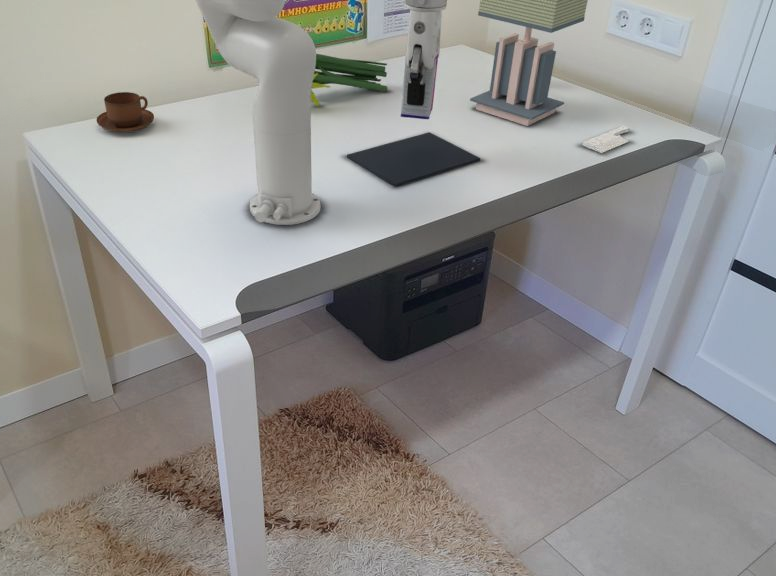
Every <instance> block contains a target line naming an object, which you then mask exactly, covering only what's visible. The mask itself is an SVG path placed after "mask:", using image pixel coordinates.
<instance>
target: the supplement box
mask: <svg viewBox="0 0 776 576" xmlns="http://www.w3.org/2000/svg"><path fill="white" fill-rule="evenodd" d="M421 54H422V53H421ZM406 56H407V54H406V55H405V57H406ZM438 61H439V57H438V54H437V56H436V57H435V59H434V67H433V68H432V69H428V68H426V70H425V78H424V84H425V95H424V104H423V106H417V105H408V104H407V90H408V82H409V73H410V67H408V66H407V64H406V58H405V60H404V70H403V72H404V73H403V84H402V97H401V108H400V115H399V116H400V117H401V118H407V119H408V118H410V119H419V120H430V118H431V117H430V116H431V114H432V111H433V108H434V98H435V91H436V90H435V89H436V81H437V71H438V63H439V62H438ZM409 62H411V61H410V60H409ZM409 66H411V65H409ZM419 66H421V67H423V64H422V63H420V64H419ZM419 73H420V74H421V73H422V70H419Z"/></svg>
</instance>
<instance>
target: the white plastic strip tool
mask: <svg viewBox="0 0 776 576" xmlns="http://www.w3.org/2000/svg"><path fill="white" fill-rule="evenodd" d="M629 132H630V127H628V126H626V125H622V126H620V127H617V128H614V129H611V130H610V131H606V132H604V133H601V134H599V135H597V136H595V137H594V136H593V137H592V138H589V139H586V140H584V141H582V142H581V146H582V147H585V148H587V149H590V150H592V151H595V152H596V153H597V152H598V153H600V154H603V153H606V152H608V151H610V150H613V149H614V148H618V147H620V146H622V145H625V144H627V143H629V142H630V140H627V139H626V138H624V137H622V136H621V135H622V134H625V133H629Z"/></svg>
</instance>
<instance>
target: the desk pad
mask: <svg viewBox="0 0 776 576" xmlns="http://www.w3.org/2000/svg"><path fill="white" fill-rule="evenodd" d="M346 158H347V159H349V160H351V161H352V162H353V163H355V164H357V165H359V166H360V167H362V168H363V169H365V170H367V171H368V172H370V173H372V174H373V175H374V176H376V177H378V178H380V179H381V180H383V181H385V182H387V183H388V184H390V185H392V186H393V187H395V188H397V187H400V186H403V185H407V184H409V183H412V182H415V181H419V180H422V179H426V178H428V177H432V176H435V175H437V174H438V175H439V174H441V173H444V172H448V171H452V170H455V169H458V168H461V167H464V166H467V165H471V164H473V163H477V162H480V161H481V160H480V159H481V157H479V156H476V155H475V154H474V153H471V152H469V151H467V150H465V149H464V148H461V147H459V146H458V145H455V144H453V143H452V142H449V141H447V140H445V138H442V137H440V136H438V135H436V134H434V133H432V132H430V131H429V132H425V133H422V134H418V135H415V136H411V137H407V138H403V139H399V140H396V141H393V142H388V143H384V144H381V145H377V146H373V147H370V148H367V149H363V150H359V151H355V152H352V153H348V154H346Z"/></svg>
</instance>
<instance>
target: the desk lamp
mask: <svg viewBox="0 0 776 576" xmlns="http://www.w3.org/2000/svg"><path fill="white" fill-rule="evenodd" d="M588 1H589V0H479V8H478V12H477V16H479V17H482V18H487V19H492V20H495V21H500V22H504V23H507V24H508V23H509V24H512V25H516V26H521V27H525V31H524V38H523V39H520V40H521V41H518V40H519V36H520V34H519V33H512V34H509V35H507V36H504V37H501V38H499V41H497V42H496V43H495V48H494V49H495V50H494V58H493V64H492V71H491V78H490V86H489V90H487V91H484V92H482V93H479V94H477V95H475V96H472V97H470V98H469V102H473V103H476V105H475V106H476V107H475V110H477V111H479V112H483V113H485V114H489V115H493V116H496V117H498V118H500V119H501V118H502V119H504V120H507V121H511V122H514V123H517V124H520V125H523V126H526V127H528V126H531V125H533V124H535V123H537V122H538V121H540V120H542V119H544V118H547V117H549V116H551V115H553V114H555V113H556V109H557V108H559V107H562V106H563V105H565V101H562V100H558V99H555V98H552V97H548V96H549V92H550V86H551V81H552V75H553V70H554V65H555V61H556V60H555V59H556V54H557V51H556V50H554V46H555V42H551V41H550V42H546V43H543V44H541V45H538V44H539V38H535V37H532V32H533V31H532V30H533V29H534V30H537V31H542V32H546V33H550V34H552V33H555V32H558V31H560V30H563V29H565V28H569V27H571V26H574V25H576V24H579V23H582V22H584V21H585V16H586V10H587V7H588Z"/></svg>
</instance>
